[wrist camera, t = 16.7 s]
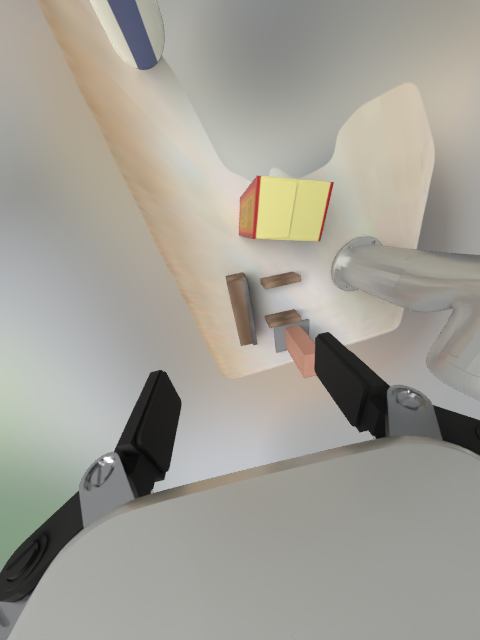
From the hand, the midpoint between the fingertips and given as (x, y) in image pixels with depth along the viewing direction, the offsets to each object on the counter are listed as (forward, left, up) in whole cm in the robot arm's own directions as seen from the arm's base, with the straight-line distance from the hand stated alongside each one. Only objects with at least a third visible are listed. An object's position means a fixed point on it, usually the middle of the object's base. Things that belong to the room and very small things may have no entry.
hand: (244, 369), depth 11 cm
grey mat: (-15, +23, -32) cm, 42 cm away
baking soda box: (-10, -8, -32) cm, 35 cm away
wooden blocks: (-8, +10, -32) cm, 35 cm away
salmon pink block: (-15, +23, -32) cm, 42 cm away
